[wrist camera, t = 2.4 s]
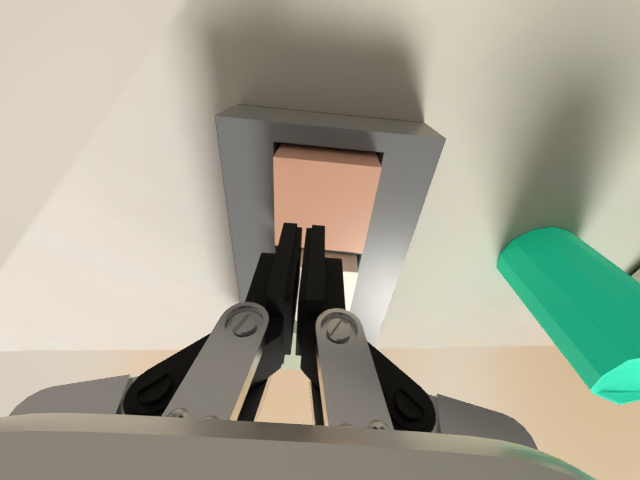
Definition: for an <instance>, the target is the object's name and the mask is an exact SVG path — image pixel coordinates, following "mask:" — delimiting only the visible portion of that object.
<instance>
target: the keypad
mask: <svg viewBox="0 0 640 480" xmlns="http://www.w3.org/2000/svg"><path fill="white" fill-rule="evenodd" d="M215 121H216V128H217V136H218V143H219V150H220V158H221V165H222V173H223V180H224V187H225V195H226V202H227V210H228V217H229V224H230V232H231V239H232V247H233V254H234V261H235V269H236V276H237V284H238V291H239V299H240V303H243V302H245V300H246V297H247V294H248V291H249V288H250V285H251V282H252V279H253V276H254V273H255V270H256V267H257V264H258V261H259V258H260V255H261V253H262V252H263V253H276V251H277V247H278V245H275V222H274V171H273V156H274V155H275V153H276V152H277V150H278V148H279V147H280V145H281V144H282V142H283V143H293V144H303V145H313V146H324V147H334V148H344V149H354V150H364V151H375V153H376V155H377V157H378V160H379V162H380V164H381V167H382V169H381V173H380V178H379V182H378V187H377V191H376V196H375V200H374V205H373V209H372V214H371V218H370V223H369V227H368V232H367V236H366V241H365V245H364V250H363V253H354V252H344V251H333V250H325V251H332V252H342V253H353V254H356V255H357V265H358V277H357V281H356V286H355V290H354V295H353V299H352V304H351V308H350V312H351V313H353V314H354V315H355V316H356V317H357V318H358V319H359V320H360V322H361V324H362V326H363V329H364V333H365V336H366V339H367V341H368V342H369V343H370V344H371V345H372V346H373V347H375V344H376V341H377V338H378V335H379V332H380V329H381V326H382V323H383V320H384V317H385V315H386V312H387V309H388V306H389V303H390V300H391V297H392V294H393V291H394V288H395V285H396V283H397V280H398V277H399V274H400V271H401V268H402V265H403V262H404V259H405V256H406V254H407V251H408V248H409V245H410V242H411V239H412V236H413V233H414V230H415V227H416V224H417V222H418V219H419V216H420V213H421V210H422V207H423V204H424V201H425V198H426V195H427V193H428V190H429V187H430V184H431V181H432V178H433V175H434V172H435V169H436V166H437V163H438V161H439V158H440V155H441V152H442V149H443V146H444V143H445V140H446V138H444V137H443V136H442V135H440V134H439V133H438V132H436V131H435V130H433V129H432V128H431V127H429V126H428V125H427V124H425V123H420V122H410V121H400V120H390V119H380V118H370V117H360V116H350V115H340V114H329V113H319V112H309V111H299V110H289V109H279V108H269V107H259V106H249V105H239V104H238V105H236V106H234V107H232V108H230V109H228V110H226V111H224V112H222V113H220V114H218V115H216V116H215ZM301 249H304V248H302V247H301Z"/></svg>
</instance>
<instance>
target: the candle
mask: <svg viewBox="0 0 640 480" xmlns="http://www.w3.org/2000/svg"><path fill="white" fill-rule="evenodd" d="M497 269H498V270H499V271H500V273H501V274H502V275H503V277H504V278H505V279H506V281H507V282H508V283H509V285H510V286H511V287H512V289H513V290H514V291H515V293H516V294H517V295H518V296H519V298H520V299H521V300H522V302H523V303H524V304H525V306H526V307H527V308H528V310H529V311H530V312H531V313H532V315H533V316H534V317H535V319H536V320H537V321H538V323H539V324H540V325H541V327H542V328H543V329H544V330H545V332H546V333H547V334H548V336H549V337H550V338H551V340H552V341H553V342H554V343H555V345H556V346H557V347H558V349H559V350H560V351H561V353H562V354H563V355H564V357H565V358H566V359H567V360H568V362H569V363H570V364H571V366H572V367H573V368H574V370H575V371H576V372H577V373H578V375H579V376H580V377H581V379H582V380H583V381H584V383H585V384H586V385H587V387H588V388H589V389H590V391H591V392H592V393H593V394H595V395H597V396H599V397H602V398H604V399H606V400H609V401H611V402H614V403H616V404H618V405H620V404H625V403H629V402H634V401H638V400H640V283H639V282H638V281H636V280H635V279H634V278H632V277H631V276H630V275H628V274H627V273H625V272H624V271H623V270H621V269H620V268H619V267H617V266H616V265H615V264H613V263H612V262H611V261H609V260H608V259H607V258H605V257H604V256H603V255H601V254H600V253H598V252H597V251H596V250H594V249H593V248H592V247H590V246H589V245H588V244H586V243H585V242H584V241H582V240H581V239H580V238H578V237H577V236H576V235H574V234H573V233H571V232H570V231H567V230H563V229H560V228H557V227H547V228H541V229H534V230H531V231H529V232H527V233H525V234H523V235H521V236H519V237H517V238H516V239H514V240H512V241H511V242H510V243H509V244H508V245H507V247H506V248H505V249H504V250H503V251H502V252H501V253H500V254H499V260H498V265H497Z"/></svg>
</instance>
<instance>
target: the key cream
mask: <svg viewBox="0 0 640 480" xmlns="http://www.w3.org/2000/svg"><path fill="white" fill-rule="evenodd" d="M303 253H304V249H301V264H300V278H301V270H302V261H303ZM325 257H328V258H340V259H342V267H343V280H344V294H345V307H346V310H347V311H350V308H351V304H352V299H353V295H354V290H355V286H356V281H357V277H358V265H357V255H356V254H353V253H342V252H332V251H325ZM299 287H300V281H299ZM298 296H299V290H298ZM297 311H298V298H297V306H296V315H295V321H297Z"/></svg>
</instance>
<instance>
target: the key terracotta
mask: <svg viewBox="0 0 640 480" xmlns="http://www.w3.org/2000/svg"><path fill="white" fill-rule="evenodd" d="M381 169H382V167H381V164H380V162H379V160H378V157H377V155H376V153H375V151H364V150H354V149H344V148H334V147H324V146H313V145H303V144H293V143H283V142H282V144H281V145H280V147H279V148H278V150H277V152H276V153H275V155H274V156H273V171H274V222H275V245H278V243H279V239H280V235H281V231H282V228H283V224H284V222H285V223H297V227H302V245H301V247H302V248H304V244H305V236H306V228H312V225H322V226H325V250H333V251H344V252H354V253H363V250H364V245H365V241H366V236H367V232H368V227H369V223H370V218H371V214H372V209H373V205H374V200H375V196H376V191H377V187H378V182H379V178H380V173H381Z"/></svg>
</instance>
